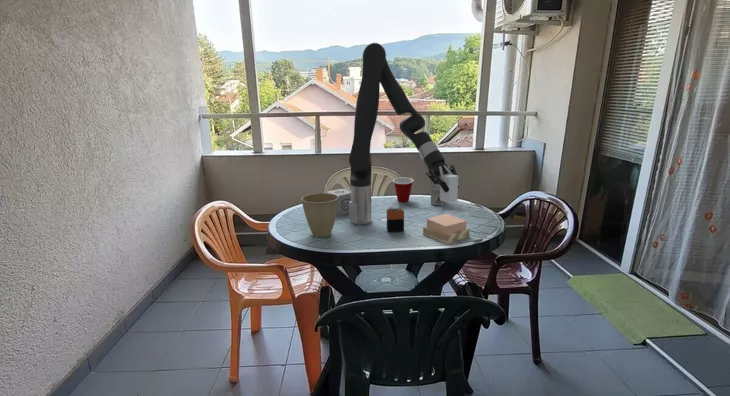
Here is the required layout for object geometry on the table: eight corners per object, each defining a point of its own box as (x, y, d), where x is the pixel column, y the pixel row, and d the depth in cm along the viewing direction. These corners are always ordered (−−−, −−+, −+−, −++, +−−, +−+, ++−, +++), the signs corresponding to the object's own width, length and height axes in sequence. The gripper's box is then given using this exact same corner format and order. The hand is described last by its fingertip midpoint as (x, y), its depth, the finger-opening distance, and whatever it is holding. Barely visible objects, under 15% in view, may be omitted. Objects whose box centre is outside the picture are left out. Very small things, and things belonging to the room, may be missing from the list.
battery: (386, 228, 160) (386, 206, 157) (402, 228, 161) (402, 205, 158) (388, 232, 156) (388, 209, 153) (404, 231, 156) (404, 209, 154)
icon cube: (342, 207, 190) (342, 188, 188) (354, 212, 183) (354, 192, 180) (326, 211, 184) (325, 191, 182) (337, 216, 177) (336, 196, 174)
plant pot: (346, 236, 153) (344, 198, 148) (311, 244, 145) (309, 204, 141) (330, 225, 165) (329, 190, 161) (298, 232, 158) (296, 195, 154)
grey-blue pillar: (448, 202, 144) (449, 177, 142) (439, 200, 148) (440, 175, 145) (457, 200, 147) (458, 175, 144) (448, 197, 151) (449, 173, 148)
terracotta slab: (445, 235, 144) (445, 226, 143) (426, 226, 153) (426, 218, 152) (465, 229, 150) (466, 221, 149) (446, 221, 159) (446, 213, 158)
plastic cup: (390, 203, 195) (390, 181, 192) (395, 198, 205) (395, 176, 202) (410, 205, 192) (411, 182, 188) (415, 199, 201) (415, 177, 198)
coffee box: (431, 199, 201) (431, 170, 196) (443, 200, 200) (444, 170, 195) (430, 204, 192) (431, 174, 188) (443, 205, 191) (444, 174, 186)
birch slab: (446, 245, 143) (447, 236, 142) (423, 235, 154) (423, 227, 153) (469, 237, 151) (469, 229, 150) (444, 228, 161) (445, 220, 160)
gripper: (422, 151, 144) (444, 187, 138) (448, 147, 152) (470, 181, 146) (413, 163, 150) (434, 198, 144) (438, 158, 158) (459, 192, 152)
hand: (452, 189), depth 145 cm, fingers closed on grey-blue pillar, 4 cm apart
